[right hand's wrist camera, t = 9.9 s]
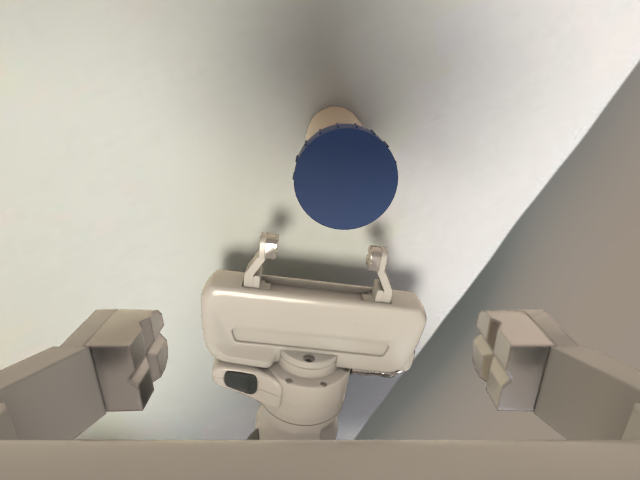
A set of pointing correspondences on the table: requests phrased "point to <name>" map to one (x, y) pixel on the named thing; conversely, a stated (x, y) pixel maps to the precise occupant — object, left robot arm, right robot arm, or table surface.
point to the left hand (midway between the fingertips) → (324, 242)
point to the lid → (345, 176)
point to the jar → (330, 119)
